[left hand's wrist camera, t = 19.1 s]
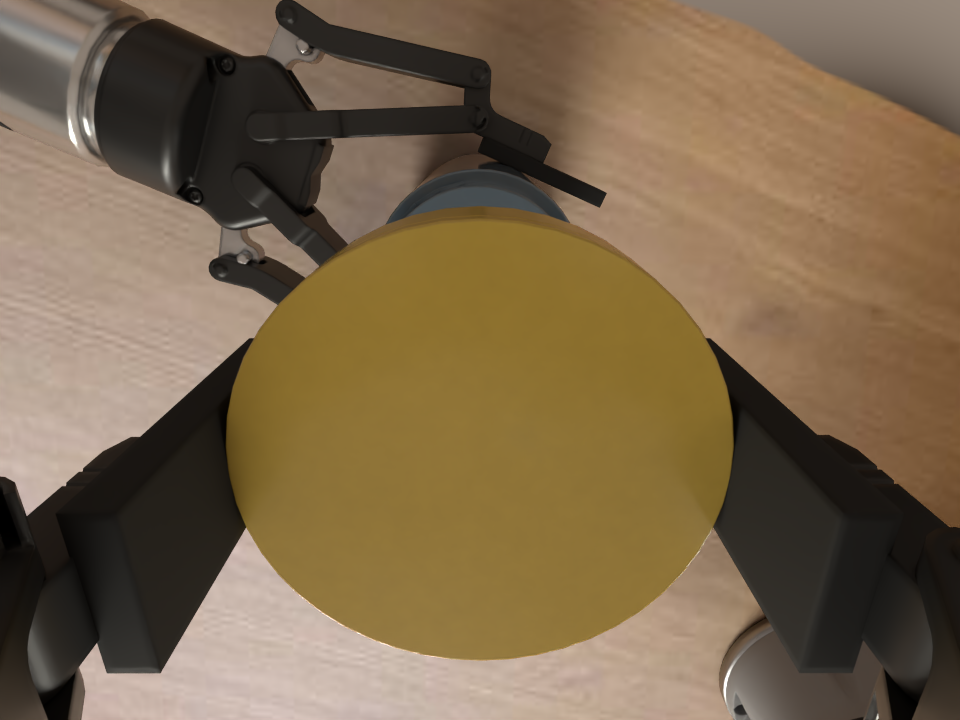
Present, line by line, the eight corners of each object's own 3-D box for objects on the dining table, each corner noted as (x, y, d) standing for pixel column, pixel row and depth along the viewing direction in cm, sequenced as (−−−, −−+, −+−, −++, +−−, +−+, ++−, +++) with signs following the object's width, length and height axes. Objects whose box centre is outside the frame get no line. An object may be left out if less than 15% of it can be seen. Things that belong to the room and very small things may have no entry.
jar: (399, 272, 38) (351, 361, 23) (426, 137, 35) (390, 144, 20) (524, 303, 39) (552, 407, 24) (562, 173, 36) (618, 204, 21)
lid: (666, 144, 10) (701, 146, 8) (724, 556, 13) (757, 612, 12) (181, 278, 11) (131, 303, 9) (347, 634, 14) (330, 696, 12)
